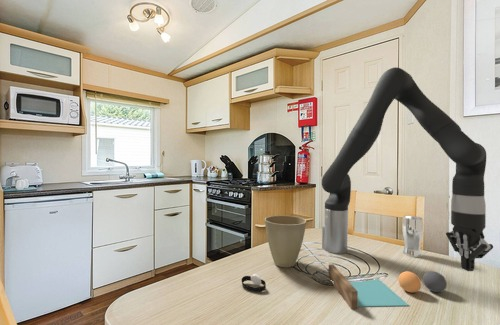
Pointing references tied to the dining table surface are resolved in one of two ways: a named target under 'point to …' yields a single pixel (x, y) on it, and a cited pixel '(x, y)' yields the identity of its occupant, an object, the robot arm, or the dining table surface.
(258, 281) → the watch
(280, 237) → the plant pot
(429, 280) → the charcoal ball
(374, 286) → the teal mark
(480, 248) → the robot arm
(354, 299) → the walnut stopper
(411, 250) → the beer glass
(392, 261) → the dining table surface
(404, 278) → the terracotta ball
